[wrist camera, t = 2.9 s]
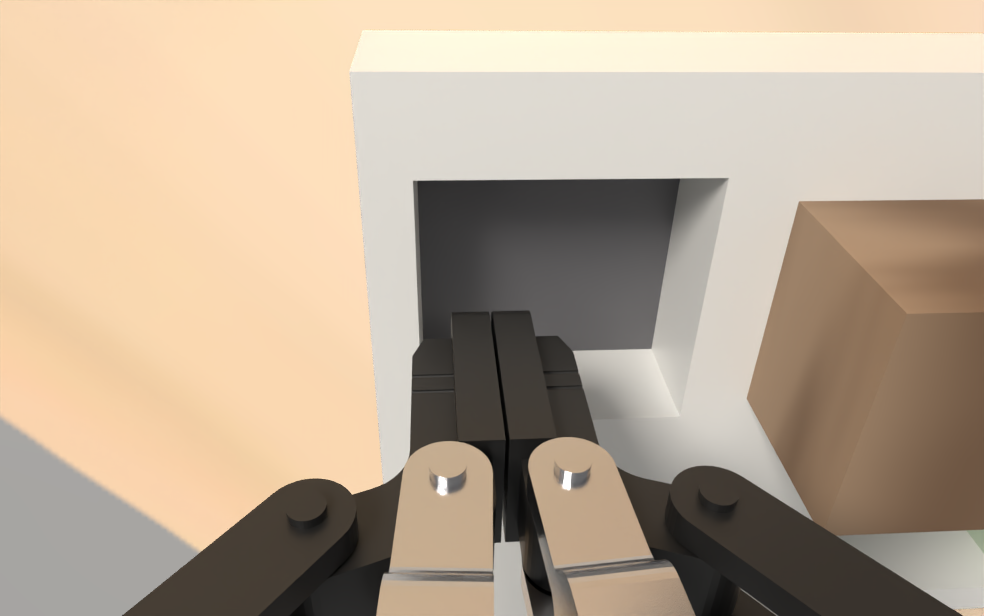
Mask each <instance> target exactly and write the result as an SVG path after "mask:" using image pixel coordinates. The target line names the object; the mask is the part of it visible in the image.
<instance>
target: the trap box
mask: <svg viewBox="0 0 984 616" xmlns="http://www.w3.org/2000/svg"><path fill="white" fill-rule="evenodd" d="M350 84H351V96H352V108H353V120H354V133H355V145H356V157H357V169H358V181H359V194H360V206H361V218H362V230H363V242H364V254H365V267H366V279H367V291H368V303H369V315H370V328H371V340H372V352H373V364H374V376H375V389H376V401H377V413H378V425H379V437H380V450H381V462H382V474H383V484H385V483H387V482H388V481H390V480H391V479H393V478H394V477H395V476H396V475H397V474H398V473H399V472H400V471H401V470H402V469H403V468H404V466H405V464H406V462H407V460H408V458H409V453H410V428H411V387H412V356H413V354H414V353H415V351H416V350H417V348H418V347H419V345H420V344H421V342H422V341H423V340H424V339H444V338H451V312H482V311H489V315H490V322H491V312H492V311H522V310H529V311H530V313H531V317H532V322H533V327H534V331H535V336H559V337H560V338H561V339H562V341H563V342H564V343H565V344H566V345H567V346H568V347H569V348H570V349H571V350H572V351H573V353H574V356H575V360H576V363H577V367H578V374H580V378H581V382H582V385H583V386H582V387H583V389H584V392H585V396H586V400H587V403H588V407H589V410H590V414H591V418H592V421H593V425H594V428H595V432H596V436H597V439H598V443H599V446H600V447H602V448H603V449H604V450H606V451H607V452H608V453H609V454H610V456H611V457H612V458H613V460H614V462H615V464H616V466H617V467H619V468H620V469H622V470H624V471H626V472H627V473H630V474H632V475H635V476H638V477H641V478H645V479H650V480H655V481H659V482H664V483H669V484H672V481H673V480H674V478H675V477H676V476H677V475H678V474H679V473H680V472H682V471H683V470H685V469H688V468H690V467H695V466H716V467H721V468H724V469H728V470H730V471H732V472H735V473H737V474H739V475H740V476H742V477H744V478H745V479H747V480H749V481H750V482H752V483H753V484H755V485H756V486H758V487H760V488H761V489H763V490H764V491H766V492H768V493H769V494H771V495H772V496H774V497H776V498H777V499H779V500H780V501H782V502H783V503H785V504H787V505H788V506H790V507H791V508H793V509H795V510H796V511H798V512H799V513H801V514H802V515H804V516H806V517H807V518H809V519H810V520H812V518H811V516H810V514H809V513H808V511H807V509H806V507H805V505H804V503H803V502H802V500H801V498H800V496H799V494H798V492H797V491H796V489H795V487H794V485H793V483H792V481H791V480H790V478H789V476H788V474H787V472H786V470H785V468H784V467H783V465H782V463H781V461H780V459H779V457H778V456H777V454H776V452H775V450H774V448H773V446H772V445H771V443H770V441H769V439H768V437H767V435H766V434H765V432H764V430H763V428H762V426H761V424H760V423H759V421H758V419H757V417H756V415H755V413H754V411H753V410H752V408H751V406H750V404H749V402H748V400H747V395H748V391H749V387H750V384H751V380H752V376H753V372H754V369H755V365H756V361H757V357H758V354H759V350H760V346H761V342H762V338H763V335H764V331H765V327H766V323H767V320H768V316H769V312H770V308H771V305H772V301H773V297H774V293H775V289H776V286H777V282H778V278H779V274H780V271H781V267H782V263H783V259H784V256H785V252H786V248H787V244H788V240H789V237H790V233H791V229H792V225H793V222H794V218H795V214H796V210H797V207H798V203H799V201H869V200H965V199H984V33H833V32H645V31H456V30H363V31H362V34H361V37H360V41H359V44H358V47H357V50H356V53H355V56H354V59H353V62H352V65H351V68H350ZM812 521H813V520H812ZM837 537H839V538H840V539H842V540H844V541H845V542H847V543H848V544H850V545H852V546H853V547H855V548H856V549H858V550H859V551H861V552H863V553H864V554H866V555H867V556H869V557H871V558H872V559H874V560H875V561H877V562H878V563H880V564H882V565H883V566H885V567H886V568H888V569H890V570H891V571H893V572H894V573H896V574H897V575H899V576H901V577H902V578H904V579H905V580H907V581H909V582H910V583H912V584H913V585H915V586H917V587H918V588H920V589H921V590H923V591H924V592H926V593H928V594H929V595H931V596H932V597H934V598H936V599H937V600H939V601H940V602H942V603H943V604H945V605H947V606H948V607H950V608H951V609H969V608H984V530H962V531H938V532H914V533H891V534H867V535H843V536H837ZM521 563H522V557H521V549H520V542H505V538H504V529H503V520H502V532H501V543H495V546H494V570H493V574H494V616H527V611H526V607H525V602H524V597H523V593H522V588H521V581H520V578H521ZM741 590H742V589H741ZM742 591H744V590H742ZM744 592H745V591H744ZM745 593H746V592H745ZM747 594H748V593H747ZM748 595H749V594H748ZM749 596H751V595H749ZM751 597H752V596H751ZM752 598H753V597H752ZM753 599H755V598H753ZM755 600H756V599H755ZM756 601H757V600H756ZM757 602H759V601H757ZM759 603H760V602H759ZM760 604H761V603H760ZM761 605H763V604H761ZM763 606H764V605H763ZM764 607H765V606H764ZM766 608H767V607H766ZM767 609H768V608H767ZM768 610H770V609H768ZM770 611H771V610H770ZM771 612H772V611H771ZM772 613H774V612H772ZM774 614H775V613H774ZM775 615H776V614H775ZM776 616H778V615H776Z"/></svg>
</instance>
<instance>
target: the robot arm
mask: <svg viewBox="0 0 984 616" xmlns="http://www.w3.org/2000/svg"><path fill="white" fill-rule="evenodd" d="M582 386H583V385H582V382H581V378H580V374H578V367H577V363H576V360H575V356H574V353H573V351H572V350H571V349H570V348H569V347H568V346H567V345H566V344H565V343H564V342H563V341H562V339H561V338H560V337H559V336H535V331H534V327H533V322H532V317H531V313H530V311H529V310H522V311H492V312H491V322H490V315H489V311H482V312H451V338H444V339H424V340H423V341H422V342H421V344H420V345H419V347H418V348H417V350H416V351H415V353H414V354H413V356H412V387H411V428H410V453H409V458H408V460H407V462H406V464H405V466H404V468H403V469H402V470H401V471H400V472H399V473H398V474H397V475H396V476H395V477H394V478H393V479H391V480H390V481H388V482H387V483H385V484H383V485H381V486H378V487H376V488H373V489H370V490H367V491H363V492H360V493H357V494H353V495H352V494H351V493H350V492H349V491H348V490H347V489H346V488H345V487H343V486H342V485H341V484H338V483H336V482H334V481H330V480H326V479H305V480H300V481H296V482H293V483H291V484H288V485H286V486H284V487H282V488H280V489H279V490H278V491H276V492H275V493H273V494H272V495H271V496H270V497H268V498H267V499H266V500H265V501H263V502H262V503H261V504H260V505H259V506H257V507H256V508H255V509H254V510H252V511H251V512H250V513H249V514H247V515H246V516H245V517H244V518H242V519H241V520H240V521H239V522H238V523H236V524H235V525H234V526H233V527H231V528H230V529H229V530H228V531H226V532H225V533H224V534H223V535H221V536H220V537H219V538H218V539H216V540H215V541H214V542H213V543H212V544H210V545H209V546H208V547H207V548H205V549H204V550H203V551H202V552H200V553H199V554H198V555H197V556H196V557H194V558H193V559H192V560H191V561H190V562H188V563H187V564H186V565H184V566H183V567H182V568H181V569H179V570H178V571H177V572H176V573H174V574H173V575H172V576H171V577H170V578H169V579H167V580H166V581H165V582H163V583H162V584H161V585H160V586H158V587H157V588H156V589H155V590H153V591H152V592H151V593H150V594H148V595H147V596H146V597H145V598H143V600H141V601H140V602H139V603H137V604H136V605H135V606H134V607H133V608H131V609H130V610H129V611H127V612H126V613H125V614H124V615H122V616H494V574H493V570H494V546H495V543H501V532H502V520H503V529H504V538H505V542H520V549H521V557H522V563H521V578H520V581H521V588H522V593H523V597H524V602H525V607H526V611H527V616H776V615H778V616H962V615H961V614H959V613H958V612H956V611H955V610H953V609H951V608H950V607H948V606H947V605H945V604H943V603H942V602H940V601H939V600H937V599H936V598H934V597H932V596H931V595H929V594H928V593H926V592H924V591H923V590H921V589H920V588H918V587H917V586H915V585H913V584H912V583H910V582H909V581H907V580H905V579H904V578H902V577H901V576H899V575H897V574H896V573H894V572H893V571H891V570H890V569H888V568H886V567H885V566H883V565H882V564H880V563H878V562H877V561H875V560H874V559H872V558H871V557H869V556H867V555H866V554H864V553H863V552H861V551H859V550H858V549H856V548H855V547H853V546H852V545H850V544H848V543H847V542H845V541H844V540H842V539H840V538H839V537H837V536H836V535H834V534H833V533H831V532H829V531H828V530H826V529H825V528H823V527H821V526H820V525H818V524H817V523H815V522H814V521H812V520H810V519H809V518H807V517H806V516H804V515H802V514H801V513H799V512H798V511H796V510H795V509H793V508H791V507H790V506H788V505H787V504H785V503H783V502H782V501H780V500H779V499H777V498H776V497H774V496H772V495H771V494H769V493H768V492H766V491H764V490H763V489H761V488H760V487H758V486H756V485H755V484H753V483H752V482H750V481H749V480H747V479H745V478H744V477H742V476H740V475H739V474H737V473H735V472H732V471H730V470H728V469H724V468H721V467H716V466H695V467H690V468H688V469H685V470H683V471H682V472H680V473H679V474H678V475H677V476H676V477H675V478H674V480H673V481H672V484H669V483H664V482H659V481H655V480H650V479H645V478H641V477H638V476H635V475H632V474H630V473H627V472H626V471H624V470H622V469H620V468H619V467H617V466H616V464H615V462H614V460H613V458H612V457H611V456H610V454H609V453H608V452H607V451H606V450H604V449H603V448H602V447H600V446H599V443H598V439H597V436H596V432H595V428H594V425H593V421H592V418H591V414H590V410H589V407H588V403H587V400H586V396H585V392H584V389H583V387H582ZM741 589H742V590H744V591H745V592H746V593H745V592H744V591H742V590H741ZM747 593H748V594H749V595H751V596H752V597H753V598H755V599H756V600H757V601H759V602H760V603H761V604H763V605H764V606H765V607H764V606H763V605H761V604H760V603H759V602H757V601H756V600H755V599H753V598H752V597H751V596H749V595H748V594H747ZM766 607H767V608H768V609H770V610H771V611H772V612H774V613H775V614H776V615H775V614H774V613H772V612H771V611H770V610H768V609H767V608H766Z"/></svg>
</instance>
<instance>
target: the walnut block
mask: <svg viewBox="0 0 984 616" xmlns="http://www.w3.org/2000/svg"><path fill="white" fill-rule="evenodd" d="M747 400H748V402H749V404H750V406H751V408H752V410H753V411H754V413H755V415H756V417H757V419H758V421H759V423H760V424H761V426H762V428H763V430H764V432H765V434H766V435H767V437H768V439H769V441H770V443H771V445H772V446H773V448H774V450H775V452H776V454H777V456H778V457H779V459H780V461H781V463H782V465H783V467H784V468H785V470H786V472H787V474H788V476H789V478H790V480H791V481H792V483H793V485H794V487H795V489H796V491H797V492H798V494H799V496H800V498H801V500H802V502H803V503H804V505H805V507H806V509H807V511H808V513H809V514H810V516H811V518H812V520H813V521H814V522H815V523H817V524H818V525H820V526H821V527H823V528H825V529H826V530H828V531H829V532H831V533H833V534H834V535H836V536H843V535H867V534H891V533H914V532H938V531H962V530H984V199H965V200H869V201H799V203H798V207H797V210H796V214H795V218H794V222H793V225H792V229H791V233H790V237H789V240H788V244H787V248H786V252H785V256H784V259H783V263H782V267H781V271H780V274H779V278H778V282H777V286H776V289H775V293H774V297H773V301H772V305H771V308H770V312H769V316H768V320H767V323H766V327H765V331H764V335H763V338H762V342H761V346H760V350H759V354H758V357H757V361H756V365H755V369H754V372H753V376H752V380H751V384H750V387H749V391H748V395H747Z"/></svg>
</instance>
